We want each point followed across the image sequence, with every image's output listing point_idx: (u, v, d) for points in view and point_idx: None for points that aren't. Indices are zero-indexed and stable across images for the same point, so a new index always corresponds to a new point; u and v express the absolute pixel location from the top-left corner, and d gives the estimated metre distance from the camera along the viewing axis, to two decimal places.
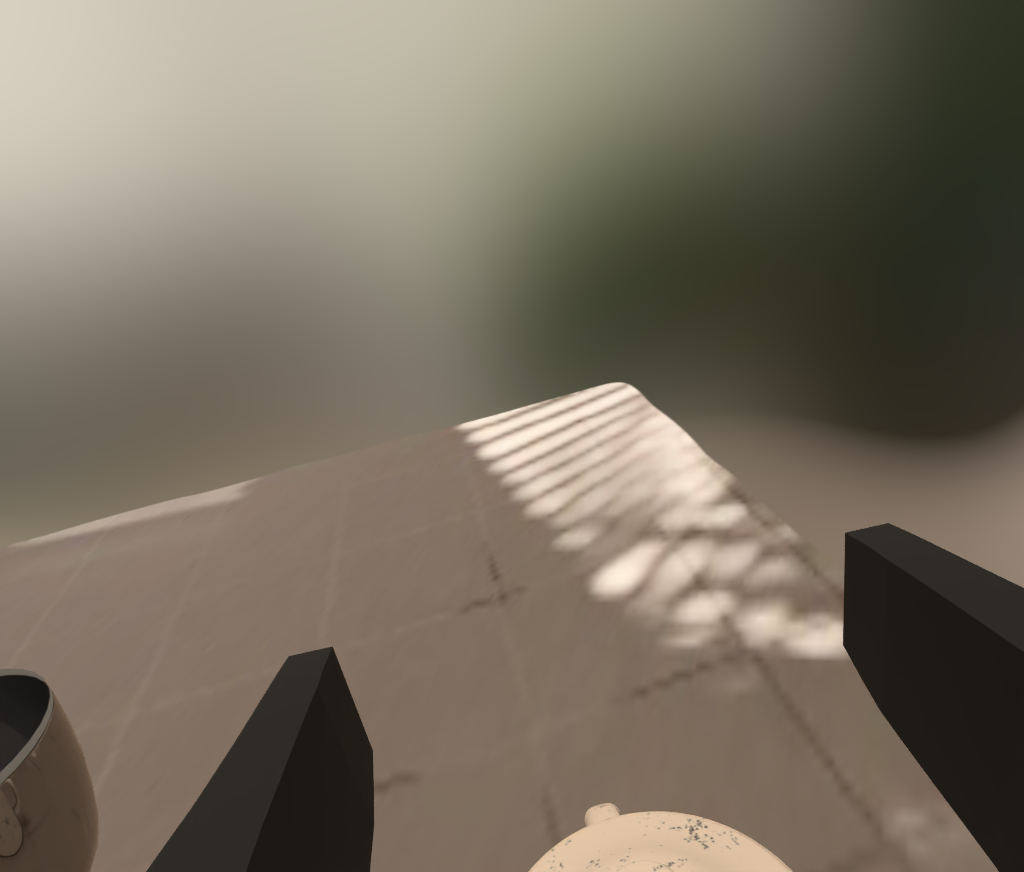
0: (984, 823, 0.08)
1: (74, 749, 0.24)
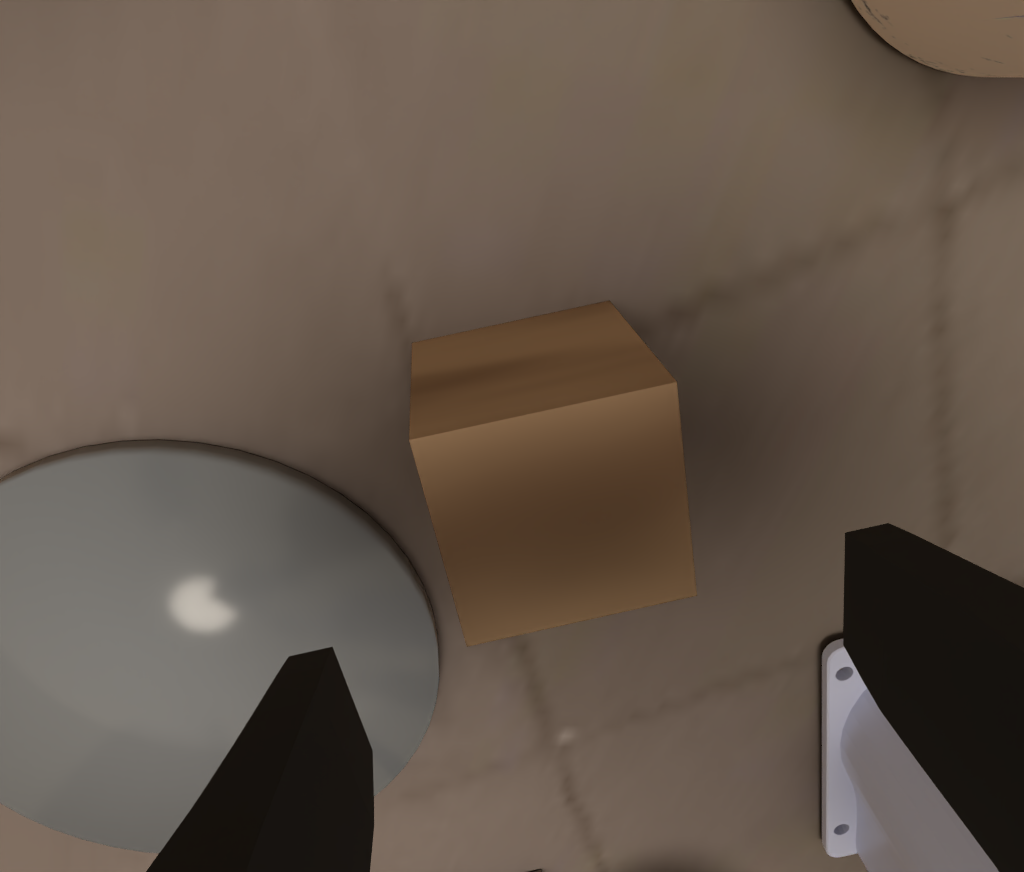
0: (984, 823, 0.08)
1: None
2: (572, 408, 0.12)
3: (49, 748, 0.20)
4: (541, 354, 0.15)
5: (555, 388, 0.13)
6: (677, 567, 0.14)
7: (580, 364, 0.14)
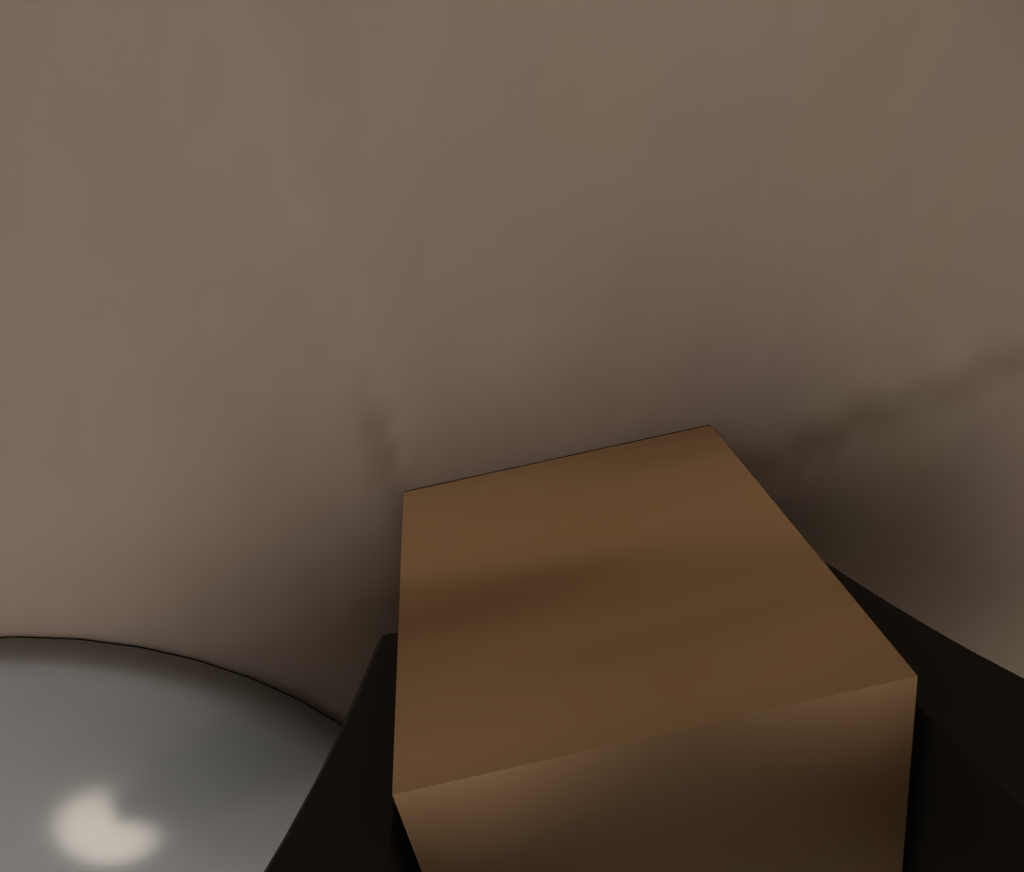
0: None
1: None
2: (713, 728, 0.06)
3: None
4: (622, 550, 0.09)
5: (668, 661, 0.07)
6: None
7: (701, 590, 0.08)
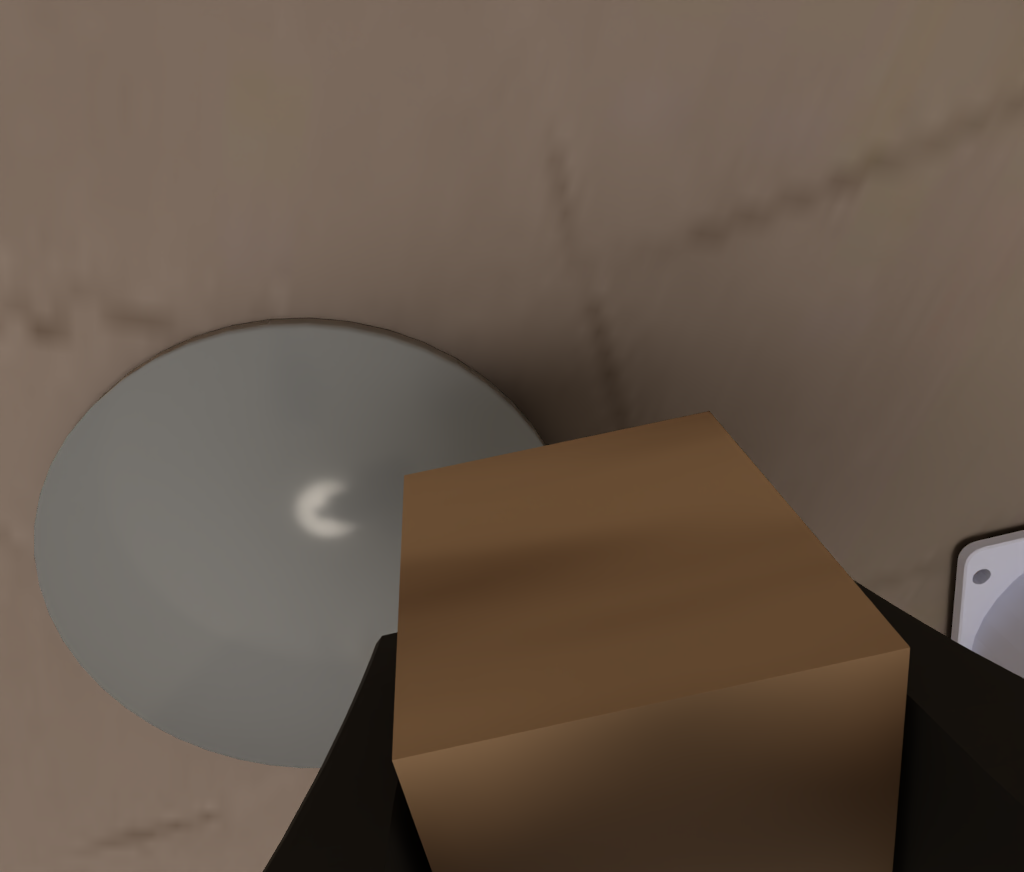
0: None
1: None
2: (709, 697, 0.06)
3: (183, 650, 0.19)
4: (621, 529, 0.09)
5: (664, 633, 0.07)
6: None
7: (698, 567, 0.08)
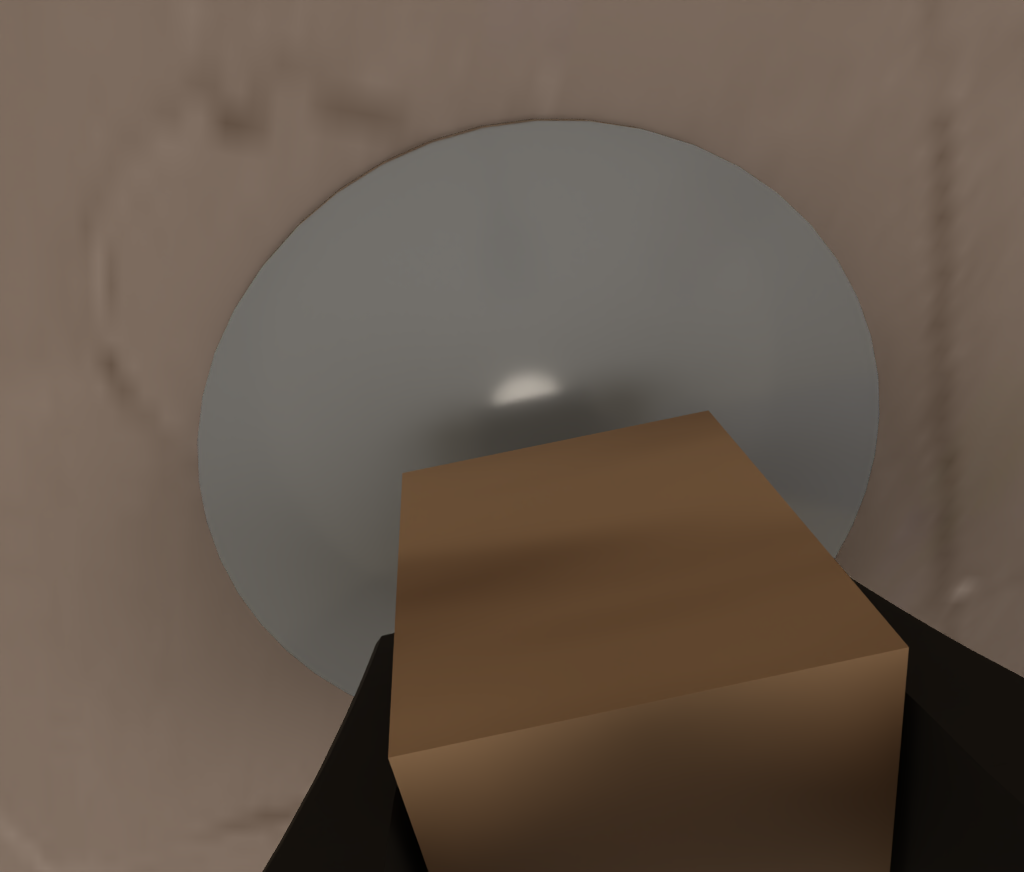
0: None
1: None
2: (706, 696, 0.06)
3: (368, 576, 0.15)
4: (619, 529, 0.09)
5: (662, 632, 0.07)
6: None
7: (697, 566, 0.08)
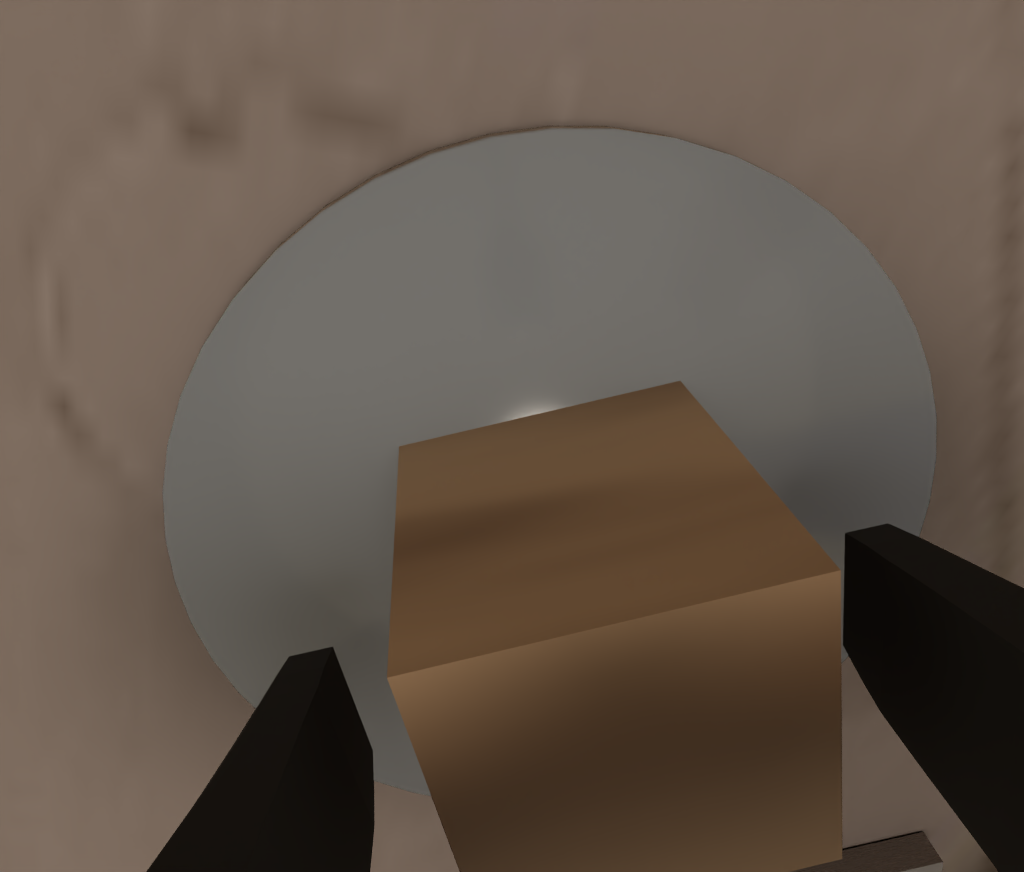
0: (984, 823, 0.08)
1: None
2: (663, 617, 0.07)
3: (359, 639, 0.13)
4: (593, 484, 0.10)
5: (627, 567, 0.08)
6: (817, 825, 0.09)
7: (662, 513, 0.09)
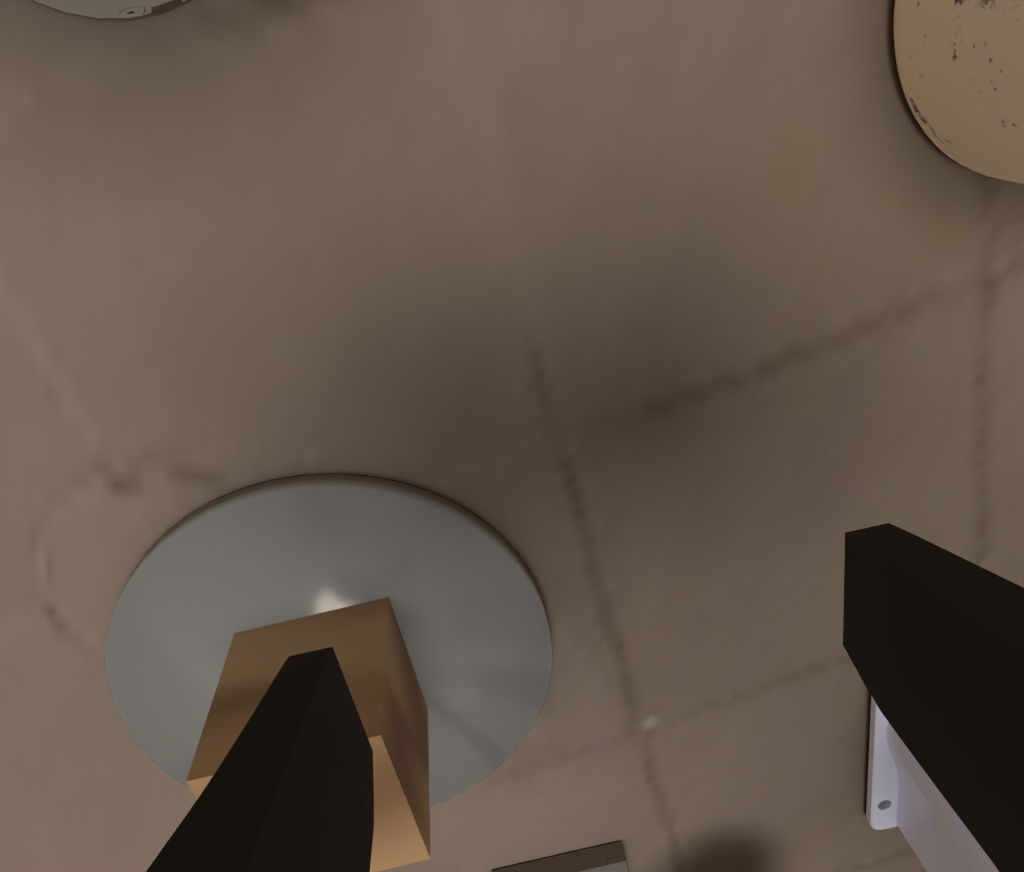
0: (984, 823, 0.08)
1: None
2: None
3: None
4: None
5: None
6: (410, 842, 0.19)
7: None
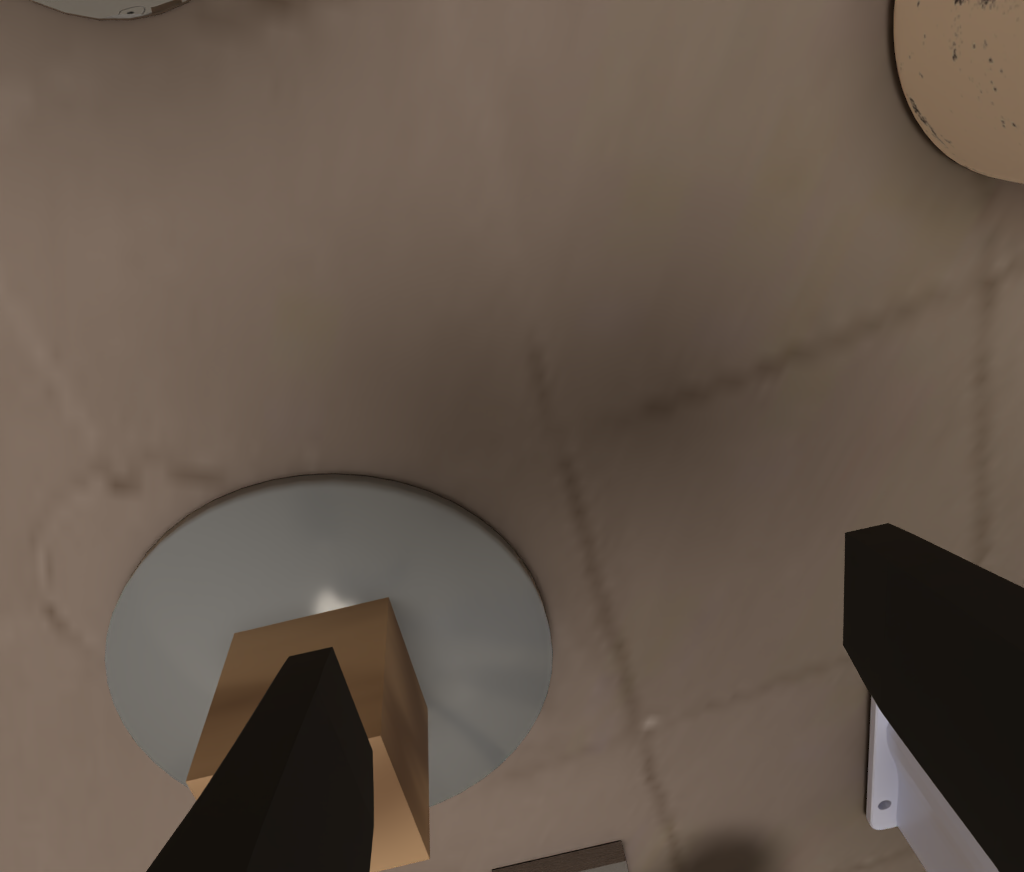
0: (984, 823, 0.08)
1: None
2: None
3: None
4: None
5: None
6: (410, 843, 0.19)
7: None
